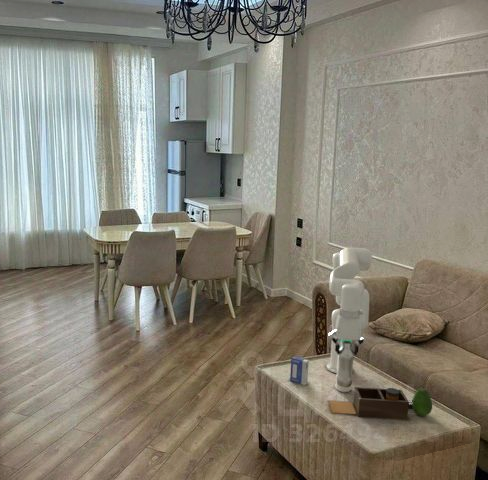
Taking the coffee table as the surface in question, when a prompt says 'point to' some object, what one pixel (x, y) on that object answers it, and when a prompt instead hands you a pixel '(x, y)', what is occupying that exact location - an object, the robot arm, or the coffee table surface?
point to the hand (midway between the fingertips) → (346, 353)
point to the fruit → (422, 402)
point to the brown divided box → (379, 404)
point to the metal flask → (345, 365)
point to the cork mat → (342, 407)
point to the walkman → (299, 370)
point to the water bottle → (339, 388)
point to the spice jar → (392, 394)
